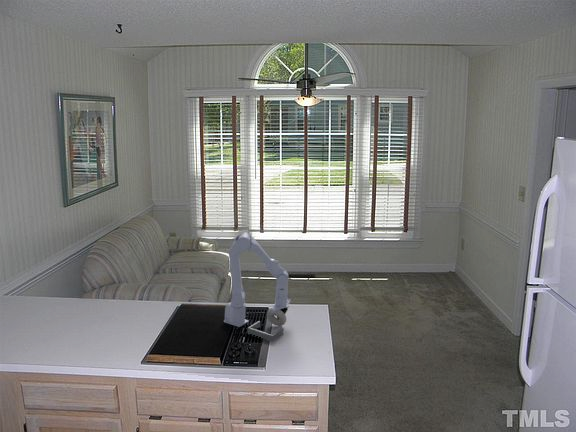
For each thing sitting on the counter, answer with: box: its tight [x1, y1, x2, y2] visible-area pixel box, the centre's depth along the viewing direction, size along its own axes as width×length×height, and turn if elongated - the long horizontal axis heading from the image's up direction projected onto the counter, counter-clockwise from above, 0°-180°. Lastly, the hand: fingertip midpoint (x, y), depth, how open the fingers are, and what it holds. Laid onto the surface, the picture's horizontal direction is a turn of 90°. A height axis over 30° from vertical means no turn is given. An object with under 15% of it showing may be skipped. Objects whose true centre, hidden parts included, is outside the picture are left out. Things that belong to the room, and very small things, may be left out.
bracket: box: [247, 320, 284, 343], centre depth 235 cm, size 14×9×3 cm
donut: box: [266, 307, 287, 327], centre depth 241 cm, size 10×4×10 cm, turn 66°
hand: (280, 321), depth 246 cm, fingers closed
